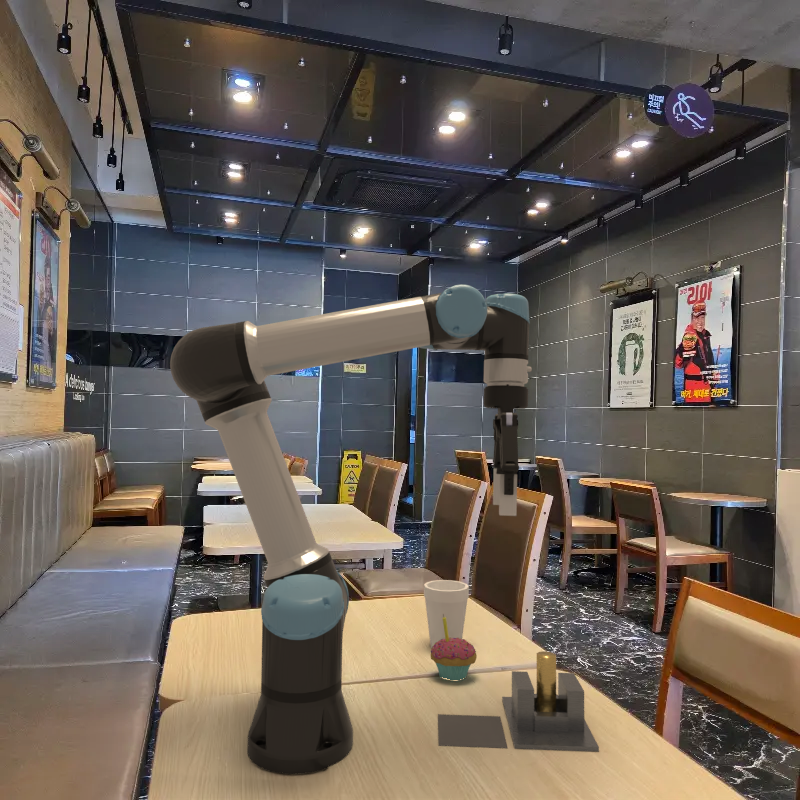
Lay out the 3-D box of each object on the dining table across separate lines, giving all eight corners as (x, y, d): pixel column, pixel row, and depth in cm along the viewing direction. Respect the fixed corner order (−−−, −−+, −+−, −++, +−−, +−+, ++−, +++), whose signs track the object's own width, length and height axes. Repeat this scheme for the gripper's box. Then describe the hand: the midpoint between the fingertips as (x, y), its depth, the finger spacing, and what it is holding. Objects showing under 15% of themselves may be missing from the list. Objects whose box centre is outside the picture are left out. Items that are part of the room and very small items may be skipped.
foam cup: (468, 641, 138) (468, 581, 138) (468, 656, 128) (469, 592, 129) (424, 639, 139) (425, 579, 139) (421, 654, 129) (422, 590, 130)
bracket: (514, 751, 91) (514, 701, 91) (502, 702, 107) (502, 660, 107) (598, 754, 90) (598, 704, 91) (573, 705, 106) (573, 662, 107)
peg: (538, 723, 97) (538, 658, 98) (535, 714, 100) (535, 651, 101) (557, 724, 97) (557, 658, 98) (554, 715, 100) (554, 651, 101)
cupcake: (438, 689, 112) (439, 621, 113) (424, 671, 120) (424, 607, 121) (483, 684, 114) (483, 617, 115) (466, 667, 123) (466, 604, 123)
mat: (438, 748, 92) (438, 745, 92) (437, 716, 102) (437, 714, 102) (507, 750, 91) (507, 748, 91) (500, 718, 101) (500, 716, 101)
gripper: (538, 380, 96) (536, 521, 95) (519, 390, 120) (518, 501, 120) (488, 379, 96) (486, 519, 95) (480, 389, 121) (478, 500, 120)
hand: (504, 510), depth 107 cm, fingers open, 13 cm apart
